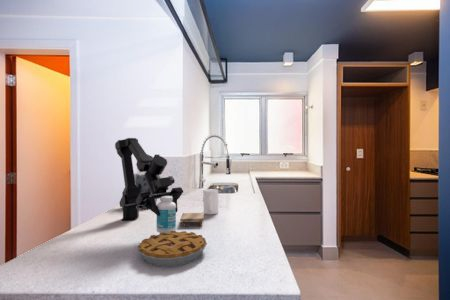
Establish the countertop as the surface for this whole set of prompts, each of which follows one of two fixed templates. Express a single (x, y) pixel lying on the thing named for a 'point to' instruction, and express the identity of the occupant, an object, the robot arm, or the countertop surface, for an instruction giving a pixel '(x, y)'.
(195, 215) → the square wooden stand
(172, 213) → the pill bottle
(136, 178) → the koala plush
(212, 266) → the countertop surface
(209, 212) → the mug
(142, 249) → the pie
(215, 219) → the countertop surface
